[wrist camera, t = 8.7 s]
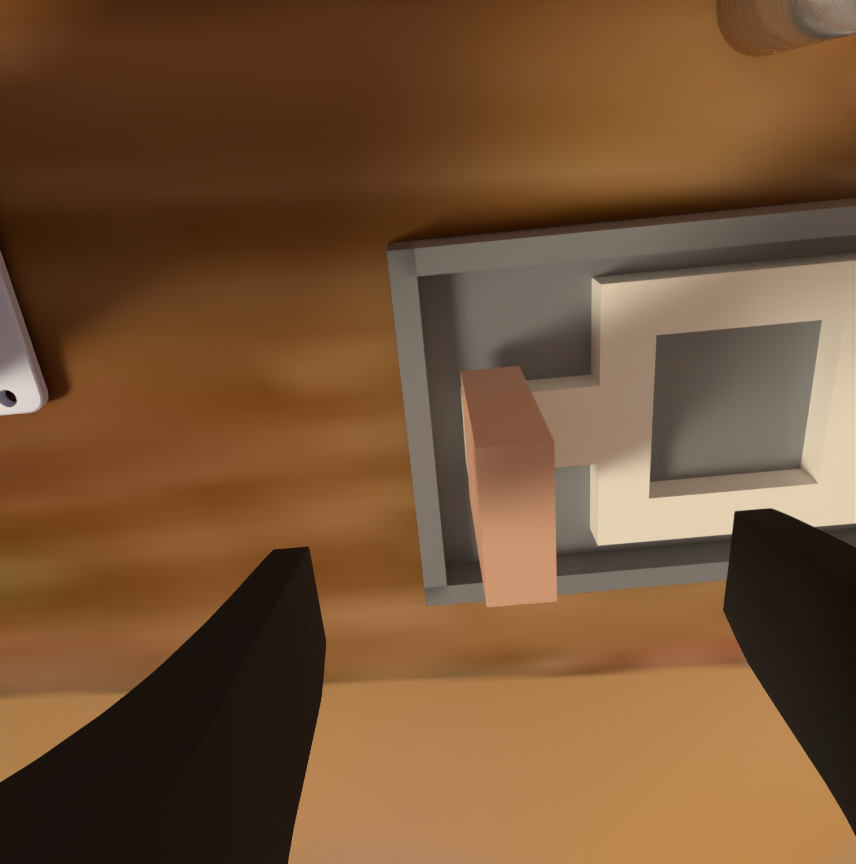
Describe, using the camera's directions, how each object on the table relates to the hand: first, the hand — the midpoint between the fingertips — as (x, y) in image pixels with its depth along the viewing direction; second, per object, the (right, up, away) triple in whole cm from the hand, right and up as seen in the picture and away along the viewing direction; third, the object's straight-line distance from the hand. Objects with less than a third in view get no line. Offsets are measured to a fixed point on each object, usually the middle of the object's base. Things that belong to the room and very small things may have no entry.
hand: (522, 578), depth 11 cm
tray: (+6, +3, +9) cm, 11 cm away
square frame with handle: (+5, +3, +8) cm, 10 cm away
